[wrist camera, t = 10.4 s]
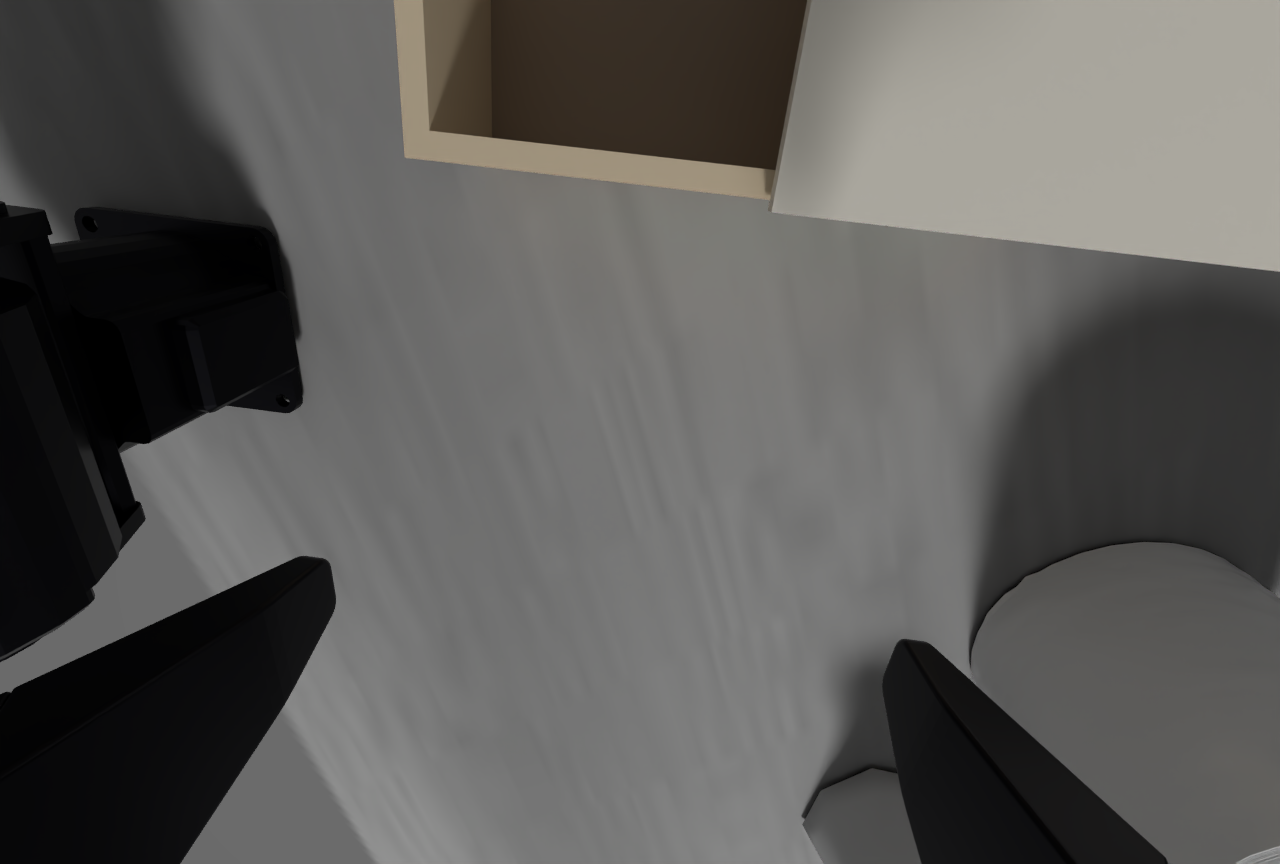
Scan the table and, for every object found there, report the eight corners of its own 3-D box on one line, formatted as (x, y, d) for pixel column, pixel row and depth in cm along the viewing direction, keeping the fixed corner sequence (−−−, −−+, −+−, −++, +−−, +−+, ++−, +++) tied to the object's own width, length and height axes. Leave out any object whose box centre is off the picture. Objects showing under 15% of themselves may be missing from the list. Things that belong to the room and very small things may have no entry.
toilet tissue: (1276, 511, 20) (1747, 792, 11) (1240, 737, 25) (1552, 1065, 16) (956, 568, 22) (1136, 844, 13) (978, 766, 27) (1122, 1070, 18)
